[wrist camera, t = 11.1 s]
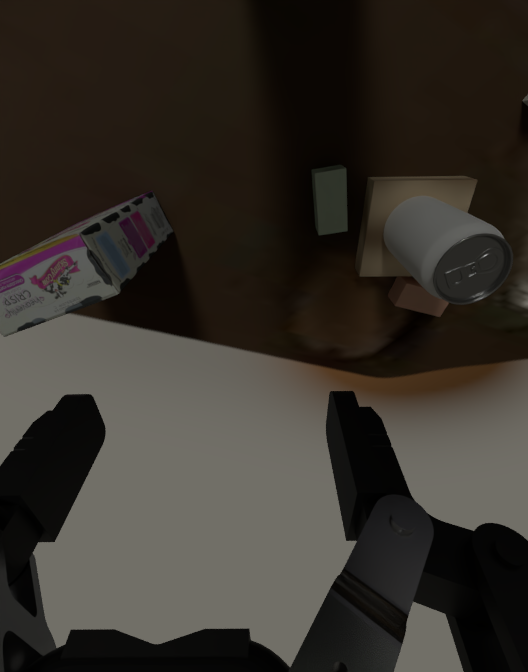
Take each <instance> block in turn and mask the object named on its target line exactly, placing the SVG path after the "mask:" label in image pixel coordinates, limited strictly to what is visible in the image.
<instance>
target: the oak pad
mask: <svg viewBox="0 0 528 672" xmlns="http://www.w3.org/2000/svg"><path fill="white" fill-rule="evenodd" d="M476 183H477V180H476V179H473V178H469V177H466V176H429V177H368V180H367V187H366V194H365V201H364V208H363V214H362V221H361V228H360V235H359V242H358V249H357V255H356V262H355V270H356V272H357V273H358V275H359V277H381V276H412V275H411V274H410V273H409V272H408V271H407V270H406V269H405V268H404V267H403V265H402V264H401V263H400V262H399V261H398V260H397V259H396V258H395V257H394V256H393V254H392V253H391V252H390V251H389V250H388V248H387V247H386V245H385V242H384V236H383V233H384V227H385V223H386V221H387V219H388V217H389V215H390V214H391V212H392V211H393V210H394V209H395V208H396V207H397V206H398V205H399V204H401V203H402V202H404V201H405V200H407V199H409V198H412V197H416V196H429V197H433V198H435V199H438V200H440V201H442V202H444V203H447V204H449V205H451V206H453V207H455V208H457V209H459V210H462V211H464V212H466V213H467V212H468V209H469V206H470V202H471V199H472V196H473V193H474V190H475V186H476Z"/></svg>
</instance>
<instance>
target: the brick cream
mask: <svg viewBox="0 0 528 672" xmlns="http://www.w3.org/2000/svg"><path fill="white" fill-rule="evenodd" d="M523 102H524V103H525V104H526V105H527V106H528V95H527V96H526V97H525V98H524V99H523Z"/></svg>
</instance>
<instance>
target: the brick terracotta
mask: <svg viewBox="0 0 528 672" xmlns="http://www.w3.org/2000/svg"><path fill="white" fill-rule="evenodd" d="M388 297H389V298H390V300H391V301H392V303H393V304H394V306H397V307H401V308H405V309H409V310H413V311H417V312H422V313H426V314H430V315H434V316H438V317H440V316H441V314H442V313H443V311H444V310H445V308H446V306H447V305H448V303H449V302H447V301H445V300H443V299H439V298H437V297H435V296H433V295H431V294H430V293H429V292H427V291H426V290H425V289H424V288H423V287H422V286H421V285H420V284H419V283H418V281H417V280H416V279H415V278H413V277H409V276H397V278H396V280H395V282H394V284H393V286H392V288H391V290H390V291H389V293H388Z"/></svg>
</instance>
